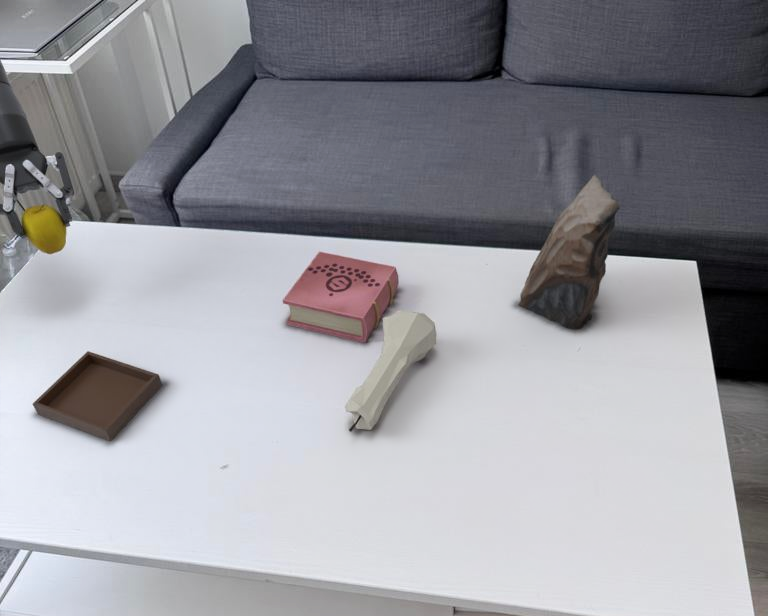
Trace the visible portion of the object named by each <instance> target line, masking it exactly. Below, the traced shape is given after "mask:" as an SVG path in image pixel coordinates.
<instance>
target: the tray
mask: <svg viewBox="0 0 768 616" xmlns="http://www.w3.org/2000/svg"><path fill="white" fill-rule="evenodd" d="M162 387H163V382H162V379H161V376H160V375H159V373H156V372H153V371H149V370H147V369H144V368H140V367H137V366H134V365H131V364H128V363H125V362H122V361H118V360H116V359H113V358H110V357H107V356H104V355H101V354H98V353H95V352H93V351H92V352H91V351H88V350H87V351H86V352H85V353H84V354H83V355H82V356H81V357H80V358H79V359H78V360H76V362H74V363H73V364H72V365H71V367H69V368H68V369H67V370H66V371H65V372H64V373H63V374H62V375H61V376H60V377H59V378H58V379H57V380H56V381H55V382H53V383H52V384H51V385H50V386H49V387H48V388H47V389H46V390H44V392H43V393H42V394H41V395H40V396H39V397H38V398H37V399H36V400H35V401H34V402H33V403H32V406H33V408H34V409H35V411H36V414H38V415H39V416H42V417H44V418H47V419H50V420H53V421H55V422H58V423H61V424H62V425H66V426H68V427H71V428H74V429H77V430H79V431H82V432H84V433H88V434H90V435H93V436H95V437H98V438H101V439H103V440H106V441H109V442H112V440H113V439H114V438H115V437H116V436H117V435H118V434H119V433H120V432H121V431H122V430H123V429H124V427H126V425H128V423H130V421H131V420H132V419H133V418H134V417H135V416H136V415H137V414H138V412H139V411H140V410H141V409H142V408H144V406H145V405H146V404H147V403H148V402H149V401H150V399H152V397H153V396H155V394H156V393H157V392H158V391H159V390H160V389H161V388H162Z"/></svg>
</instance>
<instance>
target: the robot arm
mask: <svg viewBox="0 0 768 616" xmlns="http://www.w3.org/2000/svg"><path fill="white" fill-rule="evenodd" d="M49 166H51V167H52V168H53V170H54V171H57V172H59V174H60V177H61V181H62V184H63V186H62V187H61V188H60V189H59V188H58V187H57V186H56V185H55V184H54V182H52V181H51V180H50V179H49V178H48V177H47V176H46V174H47V170H48V167H49ZM68 169H69V168H68V165H67V162H66V159H65V156H64V154H63V152H61V151H57V152H55V154H54V155H47V156H45V155H44V154H43V153H42V152H41V150H40V148H39V146H38V143H37V141H36V138H35V136H34V133H33V131H32V128H31V126H30V124H29V121H28V117H27V115H26V112H25V111H24V108H23V106H22V104H21V102H20V100H19V98H18V96H17V94H16V93H15V91H14V88H13V86H12V83H11V81H10V79H9V75H8V73H7V71H6V69H5V67H4V64H3V62H2V60H1V59H0V184H2V185H3V186H4V187H3V203H0V216H6V217H7V220H8V222H9V225H10V227H11V230H12V232H13V233H14V234H15V236H17V237H20V238H21V239H22V240H23V239H27V237H26V235H25V233H24V230H23V228H22V222H21V220H20V219H19V216H18V214H17V212H16V206H17V205H16V204H17V201H18V194H19V195H22V194H25V193H27V192H29V191H38V190H40V188H42V190H44V191H45V193H47V194H48V195H50V196H51V197H52V198H53V199H54V200H55V204H56V206H57V209H58V212H59V213H60V215H61V216H62V218H63V221H64V223H65V225H66V228H68V227H71V224H70V223H72V222H73V216H72V214H71V211H70V209H69V207H68V205H67V199H68V198H69V197H73V196H74V195H75V190H74V187H73V183H72V179H71V176H70V172H69V170H68Z"/></svg>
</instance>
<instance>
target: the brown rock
mask: <svg viewBox="0 0 768 616" xmlns="http://www.w3.org/2000/svg"><path fill="white" fill-rule="evenodd" d="M620 208H621V207H620V206H619V204H618V202H617V200H615V199H614V197H613V194H612V193H610V192H608V191H607V190H606V189H605V188H604V186H603V181H602V180H601V179H600V178H599V177H598V175H596V174H593V175H592V176H591V178H590V180H588V182H587V183H586V184H585V185H584V187H583V188H581V190H580V191H579V192H578V194H577V195H576V197H574V199H573V200H572V202H571V203H570V204H568V206H567V207H566V208H564V210H563V211H562V212H561V214H560V215H559V216H558V217H557V219H556V221H555V223H554V225H553V227H552V229H551V231H550V233H549V235H548V237H547V238H546V241H545V242H544V244H543V245H542V247H541V249H540V251H539V252H538V255H536V259H535V260H534V262H533V263H532V266H531V267H530V270H529V272H528V276H527V277H526V280H525V282H524V286H523V288H522V290H521V292H520V295H519V296H520V301H519V303H518V307H521V308H524V309H526V310H527V311H530V312H533V313H534V314H536V315H538V316H541V317H544V318H546V319H547V320H548V321H550V322H555V323H557V324H559V325H561V326H562V327H564V328H566V329H571V330H581V329H583V328H584V327H585V325H587V324H588V323H589V322H590V321H591V320H592V318H593V315H592V313H591V311H592V309H593V306H594V304H595V302H596V300H597V298H598V296H599V294H600V293H599V292H600V286H601V282H602V280H603V278H604V277H605V275H606V272H607V265H606V260H607V258H608V255H609V252H608V251H609V250H608V242H609V239H610V235H611V234H612V232H613V231H614V229H615V225H616V218H615V217H616V214H617V213H618V211H619V210H620Z"/></svg>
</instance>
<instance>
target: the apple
mask: <svg viewBox="0 0 768 616" xmlns="http://www.w3.org/2000/svg"><path fill="white" fill-rule="evenodd" d="M21 225H22V228H23V230H24V233H25V235H26V239H27V240H28V241H29V242H30V243H31V244H32V245H33V246H34V247H35V248H36V249H38V250H39V252H42V253H44V254H47V255H53V254H57V253H59V252H62V250H63V249H64V248H65V247H66V243H67V242H66V241H67V227H66V225H65V223H64V221H63V218H62V216H61V213H60V211H59V210H57V209H56V208H55V207H53V206H50V205H47V204H44V203H43V204H37V205H33V206H29V207H27V208H26V209H24V211H23V212H22V215H21Z"/></svg>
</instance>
